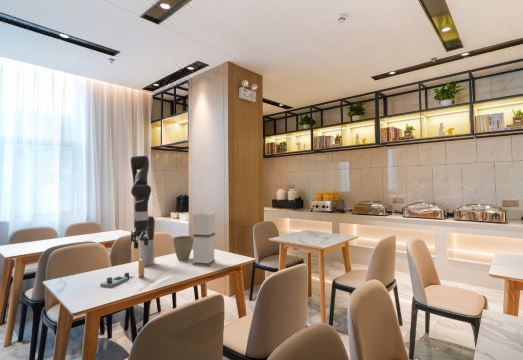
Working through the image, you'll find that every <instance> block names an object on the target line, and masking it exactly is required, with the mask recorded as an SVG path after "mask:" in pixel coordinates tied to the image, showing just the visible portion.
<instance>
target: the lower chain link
mask: <svg viewBox="0 0 523 360" xmlns="http://www.w3.org/2000/svg"><path fill="white" fill-rule="evenodd" d="M122 277H128V280H129V281H130V280H131V279H133V278H134V276H130V272H124V275H122ZM128 280H127V281H128ZM123 283H124V282H122V283H121V284H123Z"/></svg>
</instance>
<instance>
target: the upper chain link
mask: <svg viewBox="0 0 523 360" xmlns="http://www.w3.org/2000/svg"><path fill="white" fill-rule="evenodd" d="M127 281H128V277H123V276H121V275H118V276H115V277H112V276H109V277H106V280H105V281H104V282H101V283H100V287H102V288H103V287H104V288H114V287H116V286H118V285H120V284H123V283H124V282H127ZM122 282H123V283H122Z"/></svg>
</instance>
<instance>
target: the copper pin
mask: <svg viewBox="0 0 523 360" xmlns="http://www.w3.org/2000/svg"><path fill="white" fill-rule="evenodd" d="M144 278H145V266H144V259H138V279H144Z"/></svg>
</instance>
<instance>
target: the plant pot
mask: <svg viewBox="0 0 523 360" xmlns="http://www.w3.org/2000/svg"><path fill="white" fill-rule="evenodd" d="M172 242H173V248H174V252H175V255H176V258H177V260H178V261H181V262H182V261H188V260H189V258H190V255H191V253H192V251H193V235H192V236H190V235H179V236H175V237H172Z"/></svg>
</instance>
